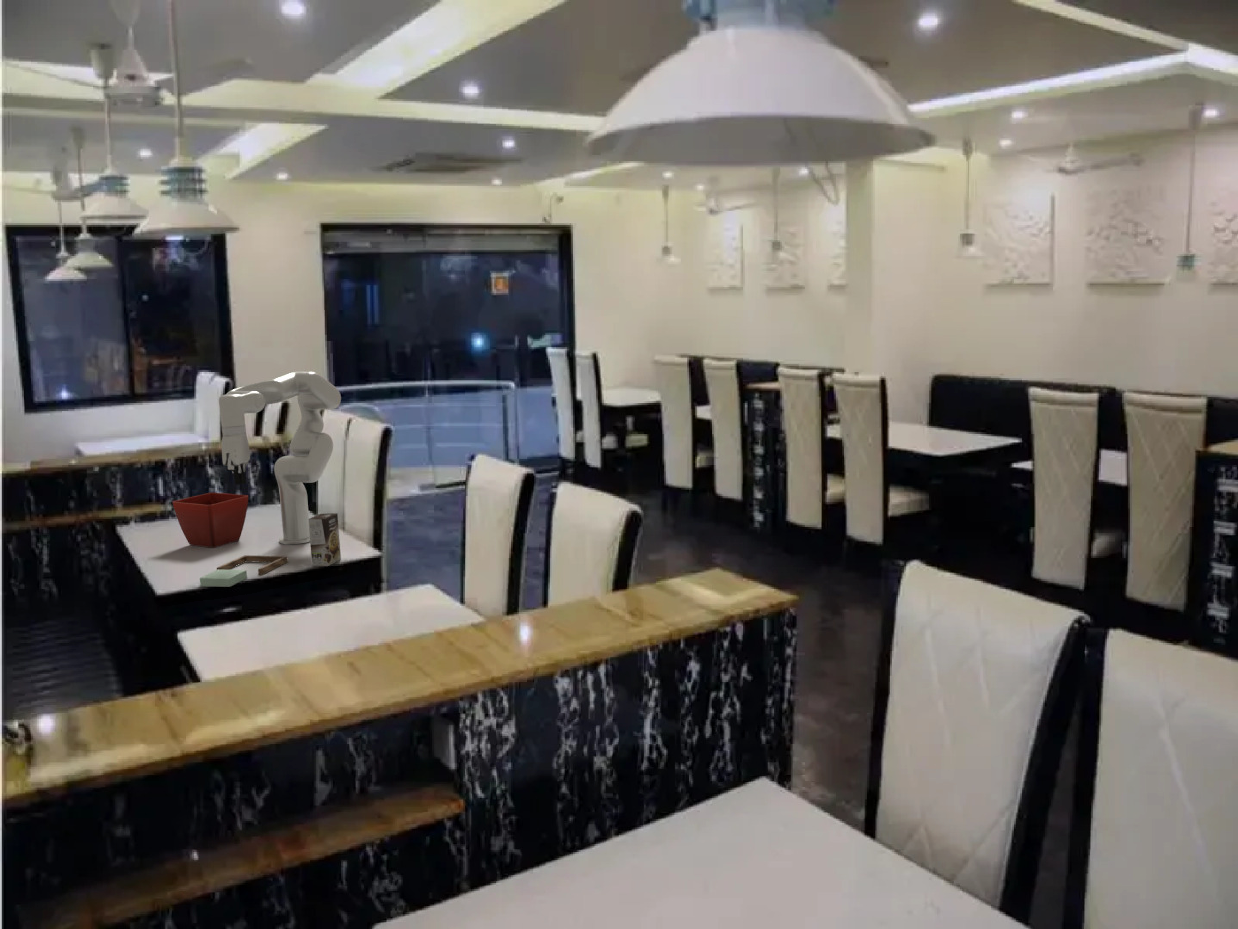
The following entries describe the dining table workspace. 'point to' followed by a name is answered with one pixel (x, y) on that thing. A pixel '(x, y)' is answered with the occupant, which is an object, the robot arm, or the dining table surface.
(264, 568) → the u-shaped wooden frame
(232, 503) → the plant pot
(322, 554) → the coffee box
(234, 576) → the cover plate
